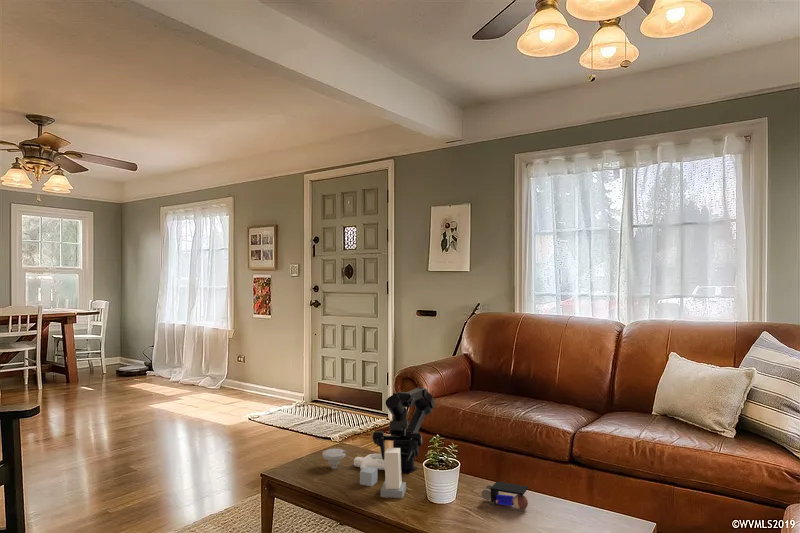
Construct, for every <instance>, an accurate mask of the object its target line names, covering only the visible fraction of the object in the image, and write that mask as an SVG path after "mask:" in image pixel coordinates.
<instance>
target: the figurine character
mask: <svg viewBox="0 0 800 533" xmlns="http://www.w3.org/2000/svg"><path fill="white" fill-rule="evenodd" d="M528 489H529V486H528V485H522V484H515V483H509V482H502V481H499V480H497V481H495V483H494V484H492V483H490V484H487V486H486V487H485V488H484V489H483V490H482V491H481V496H482V498H483V499H484V500H486V501H489V500H490V502H488V505H494V506H497V505H501V506H510V507H514V508H515V509H516V510H518V511H524V510H526V509H527V507H528V506H529V505H528V504H529V501H528V498H527V496H525V493H526V492H527V491H528ZM500 492H503V493H507V494H513V495H514V496H513V495H506V494H499V493H500Z"/></svg>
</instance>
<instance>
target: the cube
mask: <svg viewBox="0 0 800 533" xmlns="http://www.w3.org/2000/svg"><path fill="white" fill-rule="evenodd" d="M377 482H378V470H377V468H371V467H365V468H364V469H362V470H361V469H360V470H359V485H362V486H367V487H373V486H374V485H375V484H377Z"/></svg>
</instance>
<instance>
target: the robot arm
mask: <svg viewBox="0 0 800 533" xmlns="http://www.w3.org/2000/svg"><path fill="white" fill-rule="evenodd" d="M414 405H415V406H414ZM385 406H386V408H387V409H388V411H389V412H390V414H391V415H392V420H390V421H389V428H388V429H389V431H388V432H389V434H385V432H384V431H382V430H375V431H374V432H372V437H371V438H372V441H373V443H374V444H375V445H376V446H377V447H379V448H380V453H381V454H382V458H381V459H383V460H384V459H385V454H384V453H385V451H386V449H385V448H386V444H385V443H386V441H391V442H392V441H393V448H400V451H401V473H402V472H403V473H406V474H411V473H412V472H414V471H416V470H417V469H418V467H417V466H415V457H418V456H419V452H420V451H419V450H420V448H419V447H422V446H423V436H422V433H421V432H419V430H420V428H421V426H422V424H423V421H424V420H425V417H426V416H428V415H429V414H431V413H432V412H433V410H434V409H435V406H436V401H435V399H434V396H433V395H432V394H431V393H430V392H428V389H427V388H425V387H415V388H413V389H411V390H408V391H407V392H405V391H398V392H396V393H395V392H393V393H392V394H391V395H390V396H389V397H387V399H386V400H385ZM413 406H414V407H415V410H414V413H412V414H413V415H412V417H411V419H410V421H409V419H408V415H409V414H408V410H407V408H412V407H413Z"/></svg>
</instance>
